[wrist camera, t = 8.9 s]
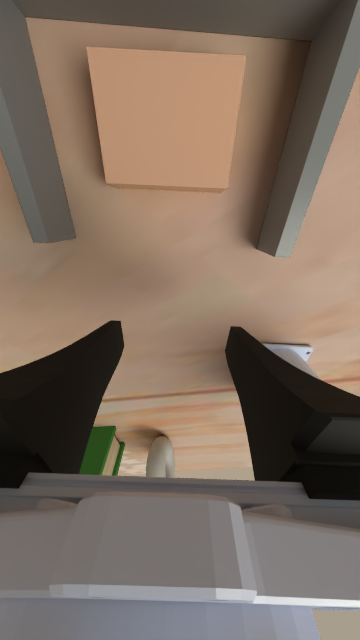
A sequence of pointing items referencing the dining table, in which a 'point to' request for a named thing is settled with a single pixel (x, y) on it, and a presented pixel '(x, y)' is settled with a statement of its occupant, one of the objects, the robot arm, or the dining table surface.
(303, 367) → the robot arm
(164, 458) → the donut
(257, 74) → the dining table surface
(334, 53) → the box
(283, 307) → the dining table surface
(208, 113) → the tan flat block
